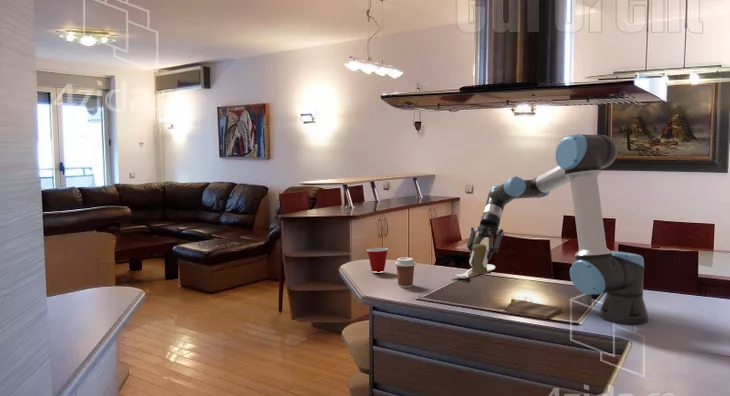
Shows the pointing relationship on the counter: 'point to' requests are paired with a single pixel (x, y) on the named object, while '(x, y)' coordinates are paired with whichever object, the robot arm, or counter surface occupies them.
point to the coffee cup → (405, 271)
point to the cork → (479, 259)
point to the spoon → (465, 275)
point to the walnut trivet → (532, 309)
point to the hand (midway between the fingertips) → (477, 264)
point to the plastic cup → (377, 258)
